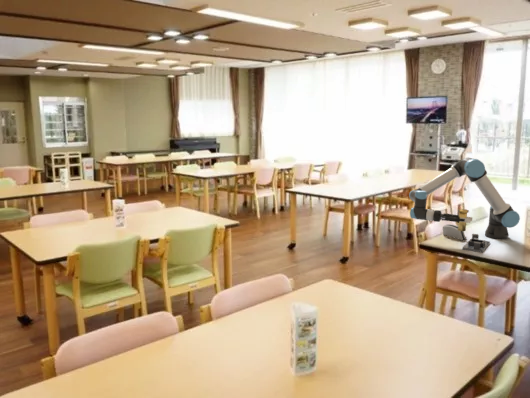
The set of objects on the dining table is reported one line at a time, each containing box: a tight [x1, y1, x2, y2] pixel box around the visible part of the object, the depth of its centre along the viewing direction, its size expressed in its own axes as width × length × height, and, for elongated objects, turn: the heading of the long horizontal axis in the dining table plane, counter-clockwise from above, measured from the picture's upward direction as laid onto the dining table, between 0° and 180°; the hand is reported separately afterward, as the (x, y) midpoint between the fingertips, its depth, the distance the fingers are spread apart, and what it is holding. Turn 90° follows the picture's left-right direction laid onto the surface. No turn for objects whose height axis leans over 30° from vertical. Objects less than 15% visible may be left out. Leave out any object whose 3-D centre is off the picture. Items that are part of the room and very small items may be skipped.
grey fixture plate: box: [462, 233, 491, 253], centre depth 315 cm, size 27×12×5 cm, turn 147°
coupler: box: [457, 208, 470, 232], centre depth 314 cm, size 6×6×14 cm
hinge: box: [442, 223, 467, 241], centre depth 338 cm, size 17×5×10 cm, turn 28°
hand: (471, 220), depth 311 cm, fingers closed on coupler, 5 cm apart
